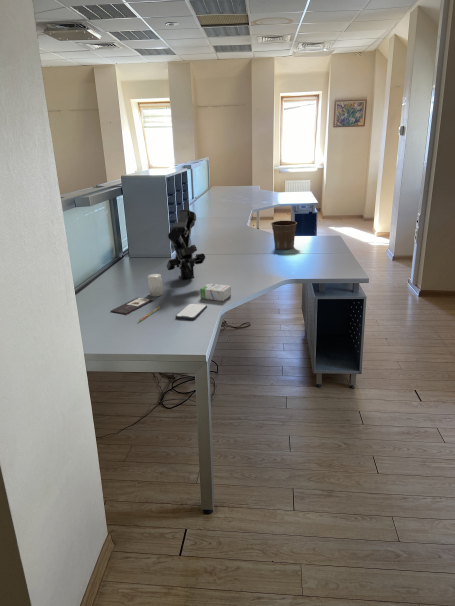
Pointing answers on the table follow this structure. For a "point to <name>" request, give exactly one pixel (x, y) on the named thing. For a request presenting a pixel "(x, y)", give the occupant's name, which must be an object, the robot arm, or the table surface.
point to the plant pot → (284, 234)
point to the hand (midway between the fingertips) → (192, 276)
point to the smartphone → (191, 311)
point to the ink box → (215, 292)
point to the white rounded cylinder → (155, 284)
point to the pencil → (149, 314)
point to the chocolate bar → (131, 306)
